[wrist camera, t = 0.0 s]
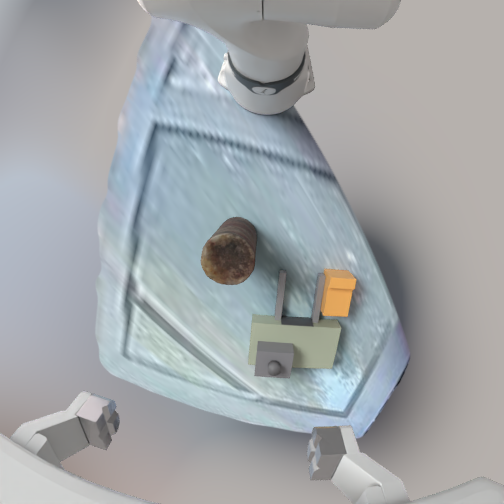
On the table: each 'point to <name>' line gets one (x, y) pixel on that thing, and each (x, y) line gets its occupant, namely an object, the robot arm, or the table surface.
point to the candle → (230, 252)
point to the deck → (292, 338)
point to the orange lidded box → (337, 292)
